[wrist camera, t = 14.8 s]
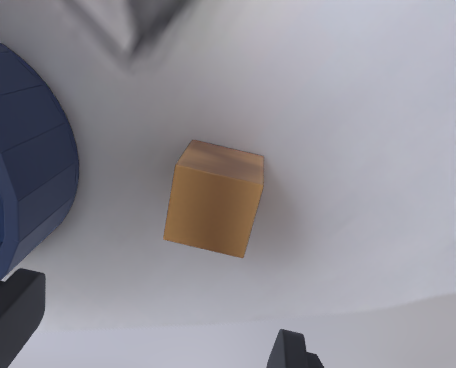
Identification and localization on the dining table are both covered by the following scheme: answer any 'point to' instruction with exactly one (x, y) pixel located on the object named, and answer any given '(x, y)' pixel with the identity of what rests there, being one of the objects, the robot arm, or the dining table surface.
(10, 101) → the tin
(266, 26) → the dining table surface
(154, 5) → the dining table surface
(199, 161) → the piece
